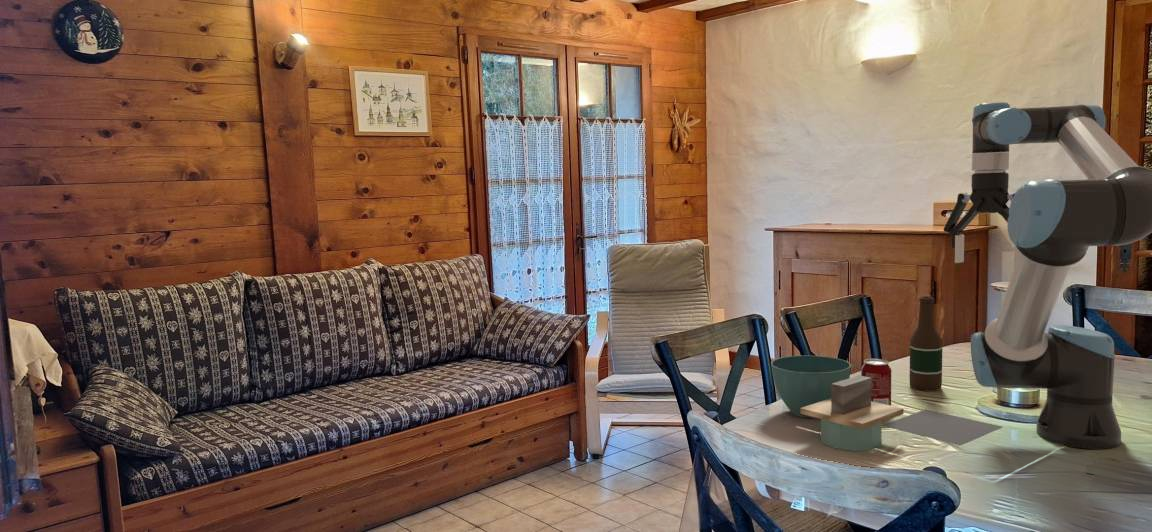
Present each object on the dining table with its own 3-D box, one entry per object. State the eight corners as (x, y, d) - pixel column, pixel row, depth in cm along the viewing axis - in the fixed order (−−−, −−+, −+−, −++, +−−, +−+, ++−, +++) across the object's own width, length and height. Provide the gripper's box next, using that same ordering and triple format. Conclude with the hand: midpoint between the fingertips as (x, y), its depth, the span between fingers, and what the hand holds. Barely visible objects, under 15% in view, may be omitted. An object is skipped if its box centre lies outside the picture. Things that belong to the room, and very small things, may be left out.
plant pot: (756, 415, 192) (756, 365, 191) (796, 398, 205) (796, 351, 204) (826, 430, 179) (826, 376, 178) (864, 411, 192) (864, 361, 191)
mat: (1002, 428, 176) (1002, 426, 176) (960, 447, 166) (960, 445, 166) (925, 410, 191) (925, 409, 191) (881, 427, 180) (881, 425, 180)
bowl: (892, 441, 171) (893, 414, 170) (859, 455, 163) (859, 426, 163) (843, 428, 180) (843, 402, 180) (809, 440, 173) (809, 413, 172)
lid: (903, 414, 170) (903, 380, 169) (862, 429, 161) (862, 394, 160) (841, 399, 182) (841, 368, 181) (800, 413, 173) (800, 380, 172)
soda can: (893, 415, 189) (893, 365, 187) (863, 414, 190) (863, 364, 189) (888, 406, 195) (888, 358, 194) (859, 406, 197) (859, 358, 195)
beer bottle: (948, 389, 209) (950, 297, 206) (925, 392, 206) (926, 300, 203) (925, 382, 216) (926, 293, 213) (902, 385, 213) (903, 296, 210)
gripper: (1056, 170, 176) (1053, 266, 178) (946, 172, 195) (944, 259, 198) (1040, 171, 171) (1037, 269, 173) (929, 173, 191) (928, 262, 193)
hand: (988, 264), depth 186 cm, fingers open, 13 cm apart
